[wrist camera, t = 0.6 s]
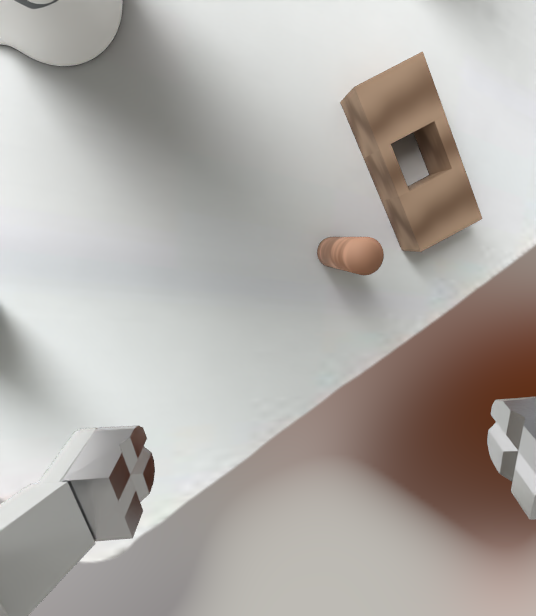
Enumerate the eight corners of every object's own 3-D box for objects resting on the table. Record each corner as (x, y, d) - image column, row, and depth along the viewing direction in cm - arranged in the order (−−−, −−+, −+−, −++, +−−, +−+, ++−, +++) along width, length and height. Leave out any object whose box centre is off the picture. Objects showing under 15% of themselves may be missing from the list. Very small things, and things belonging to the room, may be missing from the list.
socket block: (340, 102, 48) (354, 86, 43) (401, 70, 48) (422, 51, 44) (402, 250, 53) (421, 251, 48) (457, 220, 53) (482, 218, 48)
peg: (312, 245, 51) (340, 247, 39) (338, 231, 51) (374, 230, 39) (324, 271, 52) (356, 281, 40) (350, 258, 52) (389, 264, 40)
